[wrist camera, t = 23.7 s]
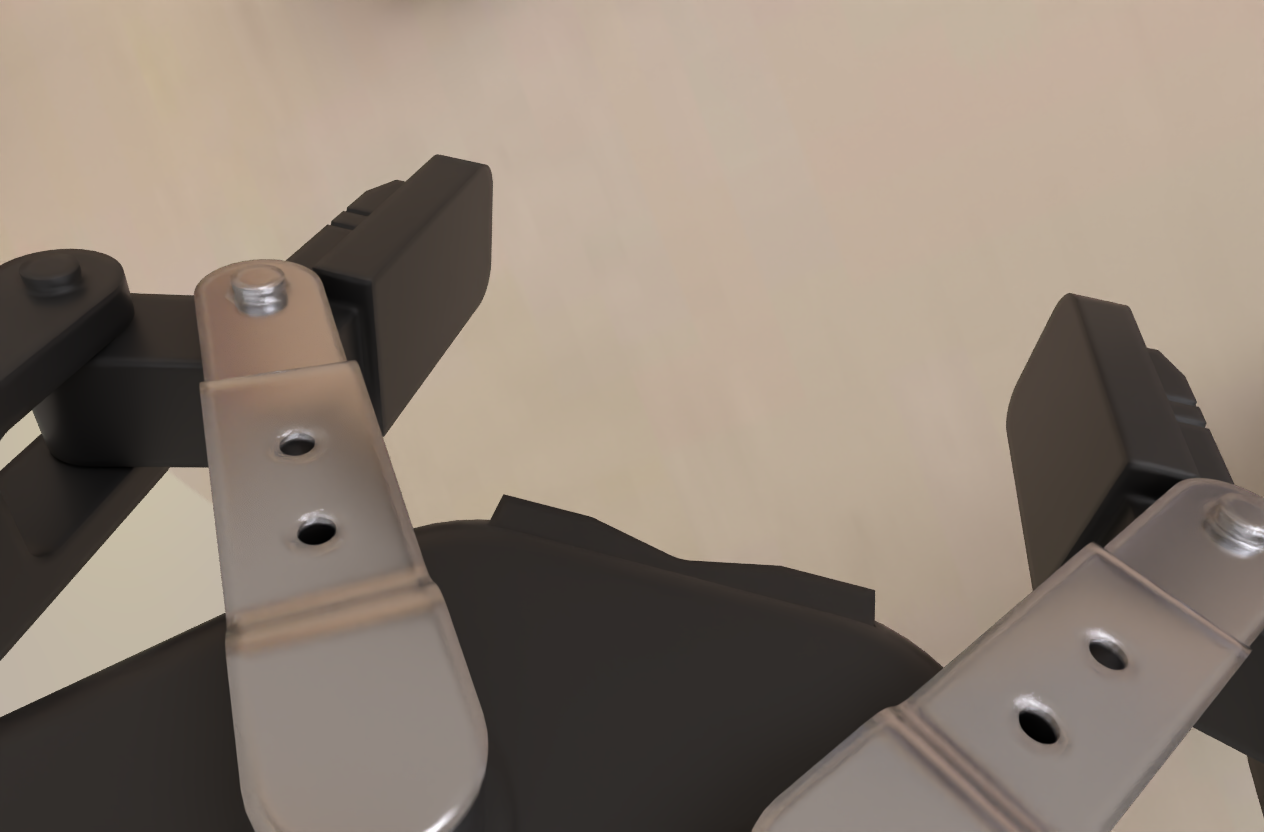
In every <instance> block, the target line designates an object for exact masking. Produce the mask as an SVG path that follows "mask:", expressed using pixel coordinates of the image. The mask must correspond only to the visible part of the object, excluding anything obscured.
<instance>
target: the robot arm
mask: <svg viewBox="0 0 1264 832" xmlns="http://www.w3.org/2000/svg"><path fill="white" fill-rule="evenodd" d="M492 197H493V180H492V173H491V170H490V168H489V166H488V165H485V164H480V163H475V162H471V161H466V160H462V159H457V158H452V157H448V156H443V155H438V154H437V155H435V156H433V157H432V158H431V159H430V160H429V161H428V162H427V163H426V164H424V165H423V166H422V167H421V168H420V169H419V170H418V171H417V172H416V173H415V174H414V175H412V176H411V177H410V178H409V179H408V180H407V181H406V182H404V181H400V180H394V181H392V182H389V183H387V184H384V185H381V186H379V187H376V188H373V189H371V190H368V191H366V192H365V193H363V194H362V195H361V196H360V197H359V198H358V199H356V200H355V201H354V202H353V203H352V204H351V205H350V206H348V207H347V211H346V212H345V211H343V212H341V213H340V214H339V215H338V216H337V217H336V218H335V219H333V220H332V221H331V225H326V226H325V227H324V228H323V229H322V230H321V231H320V232H318V233H317V234H316V235H315V236H314V237H313V238H311V239H310V240H309V241H308V242H307V243H306V244H304V245H303V246H302V247H301V248H300V249H299V250H298V251H296V252H295V253H294V254H293V255H292V256H291V257H289V258H288V259H287V260H286V261H283V260H273V259H260V260H249V261H242V262H238V263H233V264H230V265H227V266H224V267H221V268H219V269H217V270H215V271H213V272H211V273H210V274H208V275H207V276H205V277H204V278H203V279H202V280H201V281H200V282H199V283H198V285H197V286H196V289H195V291H194V295H163V294H137V293H130V291H129V288H128V284H127V281H126V277H125V274H124V270H123V268H122V266H121V264H120V263H119V262H118V261H117V260H115V259H114V258H112V257H111V256H108V255H106V254H103V253H99V252H96V251H90V250H83V249H57V250H48V251H42V252H36V253H32V254H28V255H25V256H22V257H18V258H15V259H13V260H11V261H8V262H6V263H4V264H2V265H0V440H1V439H2V437H3V436H4V435H5V433H6V432H7V431H8V430H9V429H10V428H12V427H13V426H14V425H15V424H16V423H17V422H19V421H20V420H21V419H22V418H23V417H24V416H25V415H27V414H28V413H29V412H30V411H31V410H32V411H33V413H34V416H35V418H36V421H37V423H38V426H39V428H40V431H41V433H42V434H41V435H39V436H38V437H37V438H36V439H35V440H34V441H33V442H32V443H31V444H29V445H28V446H27V447H26V448H25V449H24V450H23V451H22V452H21V453H20V454H18V455H17V456H16V457H15V458H14V459H13V460H12V461H11V462H10V463H8V464H7V465H6V466H5V467H4V468H3V469H2V470H1V471H0V660H1V659H2V658H3V657H4V656H5V655H6V654H7V653H8V652H9V650H10V649H11V648H12V647H13V646H14V644H16V642H17V641H18V640H19V639H20V638H21V637H22V636H23V634H24V633H25V632H26V631H27V630H28V629H29V628H30V626H31V625H32V624H33V623H34V622H35V621H36V620H37V619H38V617H39V616H40V615H41V614H42V613H43V612H44V611H45V610H46V608H47V607H48V606H49V605H50V604H51V603H52V602H53V600H54V599H55V598H56V597H57V596H58V595H59V594H60V592H61V591H62V590H63V589H64V588H65V587H66V586H67V584H68V583H69V582H70V581H71V580H72V579H73V578H74V577H75V575H76V574H77V573H78V572H79V571H80V570H81V569H82V567H83V566H84V565H85V564H86V563H87V562H88V561H89V560H90V558H91V557H92V556H93V555H94V554H95V553H96V552H97V550H98V549H99V548H100V547H101V546H102V545H103V544H104V542H105V541H106V540H107V539H108V538H109V537H110V536H111V534H112V533H113V532H114V531H115V530H116V529H117V528H118V526H119V525H120V524H121V523H122V522H123V521H124V520H125V519H126V517H127V516H128V515H129V514H130V513H131V512H132V511H133V509H134V508H135V507H136V506H137V505H138V503H140V501H141V500H142V499H143V498H144V497H145V496H146V495H147V494H148V492H149V491H150V490H151V489H152V488H153V487H154V486H155V484H156V483H157V482H158V481H159V480H160V479H161V478H162V476H163V475H164V474H165V473H166V472H167V471H168V469H169V468H170V467H209V474H210V483H211V492H212V500H213V509H214V516H215V526H216V534H217V543H218V551H219V561H220V569H221V578H222V586H223V594H224V603H225V612H226V613H224V614H222V615H219V616H217V617H215V618H213V619H211V620H209V621H206V622H204V623H202V624H200V625H198V626H196V627H194V628H191V629H189V630H187V631H185V632H183V633H181V634H179V635H176V636H174V637H173V638H170V639H168V640H166V641H163V642H162V643H159V644H157V645H155V646H153V647H151V648H149V649H146V650H144V651H142V652H140V653H138V654H136V655H133V656H131V657H129V658H127V659H125V660H123V661H121V662H118V663H116V664H114V665H112V666H110V667H107V668H106V669H103V670H101V671H99V672H97V673H95V674H92V675H90V676H88V677H86V678H84V679H82V680H80V681H77V682H75V683H73V684H71V685H69V686H67V687H65V688H62V689H60V690H58V691H56V692H54V693H52V694H49V695H47V696H45V697H43V698H41V699H39V700H37V701H35V702H33V703H30V704H28V705H26V706H24V707H21V708H19V709H17V710H15V711H13V712H11V713H9V714H6V715H4V716H2V717H0V832H1110V831H1111V830H1112V829H1113V827H1114V826H1115V825H1116V824H1117V822H1118V821H1119V820H1120V818H1121V817H1122V816H1123V815H1124V813H1125V812H1126V811H1127V810H1128V808H1129V807H1130V806H1131V804H1132V803H1133V802H1134V801H1135V799H1136V798H1137V797H1138V796H1139V794H1140V793H1141V792H1142V791H1143V789H1144V788H1145V787H1146V785H1147V784H1148V783H1149V782H1150V780H1151V779H1152V778H1153V777H1154V775H1155V774H1156V773H1157V771H1158V770H1159V769H1160V768H1161V766H1162V765H1163V764H1164V763H1165V761H1166V760H1167V759H1168V757H1169V756H1170V755H1171V754H1172V752H1173V751H1174V750H1175V749H1176V747H1177V746H1178V745H1179V743H1180V742H1181V741H1182V740H1183V738H1184V737H1185V736H1186V735H1187V733H1188V732H1189V731H1190V729H1191V728H1192V727H1194V728H1196V729H1198V730H1199V731H1201V732H1203V733H1205V734H1207V735H1209V736H1211V737H1213V738H1215V739H1217V740H1219V741H1221V742H1222V743H1224V744H1226V745H1228V746H1230V747H1232V748H1234V749H1236V750H1238V751H1240V752H1242V753H1243V754H1245V755H1247V757H1248V763H1249V767H1250V770H1251V774H1252V777H1253V781H1254V784H1255V788H1256V792H1257V795H1258V799H1259V802H1260V806H1261V809H1262V813H1263V816H1264V498H1262V497H1260V496H1259V495H1257V494H1255V493H1253V492H1251V491H1248V490H1246V489H1244V488H1242V487H1239V486H1236V485H1234V482H1233V480H1232V478H1231V476H1230V474H1229V471H1228V469H1227V467H1226V465H1225V463H1224V460H1223V458H1222V456H1221V454H1220V452H1219V450H1218V447H1217V445H1216V443H1215V441H1214V439H1213V436H1212V434H1211V432H1210V430H1209V429H1208V428H1205V425H1206V421H1205V419H1204V417H1203V415H1202V412H1201V410H1200V408H1199V407H1196V403H1197V401H1196V399H1195V397H1194V395H1193V393H1192V390H1191V388H1190V386H1189V384H1188V382H1187V380H1186V377H1185V376H1184V375H1183V374H1182V373H1181V372H1180V371H1179V370H1178V369H1177V368H1176V367H1175V366H1174V365H1173V364H1172V363H1171V362H1170V361H1169V360H1168V359H1167V358H1166V357H1165V356H1164V355H1163V354H1162V353H1161V352H1160V351H1159V350H1155V349H1150V348H1147V347H1146V345H1145V343H1144V340H1143V338H1142V335H1141V333H1140V331H1139V328H1138V326H1137V323H1136V321H1135V319H1134V316H1133V314H1132V311H1131V309H1130V308H1129V307H1128V306H1126V305H1122V304H1118V303H1113V302H1108V301H1104V300H1099V299H1095V298H1090V297H1085V296H1081V295H1076V294H1072V293H1068V294H1066V295H1064V296H1063V297H1062V298H1061V300H1060V301H1059V302H1058V304H1057V305H1056V307H1055V309H1054V310H1053V312H1052V314H1051V316H1050V318H1049V320H1048V322H1047V324H1046V326H1045V328H1044V330H1043V332H1042V334H1041V336H1040V338H1039V340H1038V342H1037V344H1036V346H1035V348H1034V350H1033V352H1032V354H1031V356H1030V358H1029V360H1028V362H1027V364H1026V366H1025V368H1024V370H1023V372H1022V374H1021V376H1020V378H1019V380H1018V382H1017V384H1016V386H1015V388H1014V391H1013V393H1012V396H1011V399H1010V403H1009V407H1008V412H1007V420H1006V430H1007V437H1008V443H1009V449H1010V455H1011V461H1012V467H1013V473H1014V479H1015V485H1016V491H1017V497H1018V504H1019V510H1020V516H1021V522H1022V528H1023V534H1024V540H1025V546H1026V552H1027V558H1028V564H1029V570H1030V576H1031V583H1032V589H1033V592H1031V593H1030V594H1029V595H1028V596H1027V597H1026V598H1024V599H1023V600H1022V601H1021V602H1020V603H1019V604H1017V605H1016V606H1015V607H1014V608H1013V609H1012V610H1010V611H1009V612H1008V613H1007V614H1006V615H1005V616H1003V617H1002V618H1001V619H1000V620H999V621H998V622H997V623H995V624H994V625H993V626H992V627H991V628H990V629H988V630H987V631H986V632H985V633H984V634H983V635H981V636H980V637H979V638H978V639H977V640H976V641H974V642H973V643H972V644H971V645H970V646H969V647H967V648H966V649H965V650H964V651H963V652H962V653H960V654H959V655H958V656H957V657H956V658H955V659H953V660H952V661H951V662H950V663H949V664H948V665H946V666H945V667H944V668H943V667H942V666H941V665H940V664H939V663H938V662H936V661H935V660H934V659H933V658H932V657H931V656H930V655H928V654H927V653H926V652H925V651H923V650H922V649H921V648H919V647H918V646H916V645H915V644H914V643H912V642H911V641H910V640H908V639H907V638H905V637H903V636H902V635H900V634H898V633H897V632H895V631H893V630H892V629H890V628H888V627H887V626H885V625H883V624H881V623H879V622H877V621H875V590H872V589H868V588H864V587H861V586H857V585H853V584H849V583H845V582H841V581H837V580H833V579H830V578H826V577H822V576H818V575H814V574H810V573H806V572H802V571H799V570H795V569H791V568H787V567H783V566H774V565H757V564H739V563H722V562H705V561H689V560H683V559H679V558H676V557H673V556H671V555H669V554H667V553H665V552H663V551H661V550H658V549H656V548H654V547H652V546H650V545H648V544H646V543H644V542H642V541H640V540H638V539H636V538H634V537H632V536H630V535H628V534H625V533H623V532H621V531H619V530H617V529H615V528H613V527H611V526H609V525H607V524H605V523H603V522H601V521H599V520H597V519H595V518H593V517H589V516H585V515H582V514H578V513H574V512H570V511H566V510H562V509H558V508H555V507H551V506H547V505H543V504H539V503H535V502H531V501H527V500H524V499H520V498H516V497H512V496H508V495H504V494H503V496H502V498H501V500H500V502H499V504H498V506H497V508H496V510H495V512H494V514H493V516H492V518H491V520H478V519H477V520H456V521H448V522H441V523H434V524H430V525H426V526H422V527H417V528H413V527H412V524H411V521H410V518H409V515H408V512H407V509H406V506H405V503H404V500H403V497H402V494H401V491H400V488H399V485H398V482H397V479H396V476H395V473H394V470H393V467H392V463H391V460H390V457H389V454H388V451H387V448H386V445H385V442H384V439H383V437H384V436H385V434H386V433H387V432H388V430H389V429H390V428H391V426H392V425H393V423H394V422H395V421H396V419H397V418H398V416H399V415H400V414H401V412H402V411H403V410H404V408H405V407H406V405H407V404H408V403H409V401H410V400H411V399H412V397H413V396H414V394H415V393H416V392H417V390H418V389H419V388H420V386H421V385H422V383H423V382H424V381H425V379H426V378H427V377H428V375H429V374H430V372H431V371H432V370H433V368H434V367H435V365H436V364H437V363H438V361H439V360H440V359H441V357H442V356H443V354H444V353H445V352H446V350H447V349H448V348H449V346H450V345H451V343H452V342H453V341H454V339H455V338H456V337H457V335H458V334H459V332H460V331H461V330H462V328H463V327H464V325H465V324H466V323H467V321H468V320H469V319H470V317H471V316H472V314H473V313H474V312H475V310H476V309H477V308H478V306H479V305H480V303H481V301H482V299H483V297H484V295H485V292H486V289H487V285H488V281H489V277H490V270H491V246H492Z"/></svg>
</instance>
